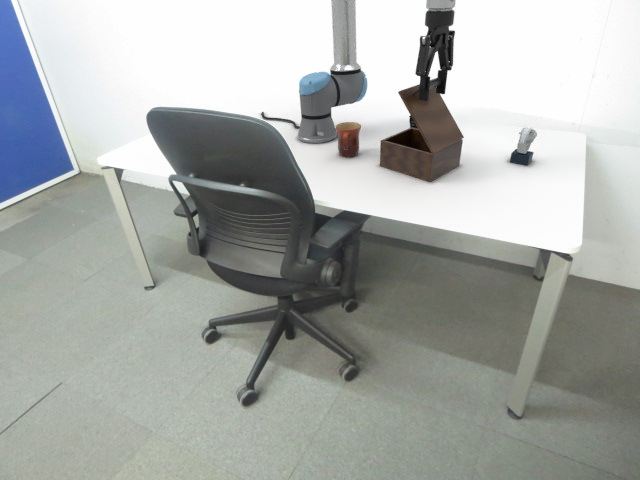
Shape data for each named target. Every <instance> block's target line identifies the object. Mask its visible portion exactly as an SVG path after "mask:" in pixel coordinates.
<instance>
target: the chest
mask: <svg viewBox="0 0 640 480" xmlns="http://www.w3.org/2000/svg"><path fill="white" fill-rule="evenodd" d="M463 139H464V138H462V139H460V140H459V141H457V142H455V143H453V144H451V145H449V146H447V147H445V148H443V149H441V150H439V151H437V152H435V153H433V154H432V153H431V151H430V149H429V147H428V146H427V144H426V142H425V140H424V138H423V137H422V135H421V133H420V131H419V129H416V128H412V127H411V128H410V127H409V128H407V129H404V130H402V131H399V132H396V133H395V134H392V135H390V136H388V137H386V138H383V139H381V140H380V145H379V146H380V149H379V156H380V157H379V167H382V168H385V169H388V170H391V171H395V172H397V173H401V174H404V175H407V176H410V177H413V178H415V179H419V180H422V181H425V182H427V183H432V182H433V181H435V180H437V179H438V178H440V177H442V176H444V175H445V174H447V173H449V172H451V171H453V170H454V169H455V168H458V167H459V166H460V163H461V156H462V149H463V148H462V147H463V141H464V140H463Z"/></svg>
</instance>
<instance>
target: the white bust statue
mask: <svg viewBox="0 0 640 480" xmlns="http://www.w3.org/2000/svg"><path fill="white" fill-rule="evenodd" d="M518 135H519V139H518V143H517V145H516V148H515V149H513V151H512V152H511V154H510V159H509V163H512V164H518V165H522V166H528V167H529V165H530V164H531V163H532V161H533V157H534V151H531V150H530V151H529V149H530V147H531V145H532V143H534V141H535V139H536V138H537V136H538V131H537V130H536V129H535V128H533V127H529V126H528V127H522V129H521V131H519V132H518Z"/></svg>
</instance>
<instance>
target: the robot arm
mask: <svg viewBox="0 0 640 480" xmlns="http://www.w3.org/2000/svg"><path fill="white" fill-rule="evenodd" d="M456 1H457V0H426V2H425V9H427V10H426V11H425V17H424V18H425V19H424V26H425V27H427V28H428V29H427V33H426V35H420V37H419V49H418V55H417V61H416V67H415V73H414V74H415V75H416V76H417V77H419V84H420V92H419V99H420V100H425V101H428V98H429V86H430V80H431V76H430V72H431V68H432V66H433V62H434V59H435V55H436V53H437V57H438V64H439V70H438V69H437V77H436V78H440V79H441V85H440V86H437V87H436V93H439V94H440V95H446V88H447V79H448V71H452V69H453V66H454V46H455V44H454V43H455V35H456V30H451V29H450V27H452V26H453V25H454V23H455V21H454V20H455V13H456V12H455V10H454V8H455V7H456ZM330 4H331V25H332V26H331V27H332V28H331V29H332V50H333V51H332V52H333V65H331V66H330V67H329V68H330V69H329V71H330V72H327V71H318V72H311V73H308V74H305V75H304V76H302V77H301V78H300V80H299V82H298V93H299V105H300V115H301V119H300V123H299V125H297V123H296V122H295V121H294V120H293V119H289V118H282V117H269V116H265V111H261V114H260V115H261V117H262V118H263V119H264V120H269V121H281V122H282V121H283V122H287V123H291V124H293V127H294V128H295V129H298V132H297V138H298V140H299V141H300V142H303V143H307V144H324V143H328V142H331V141H334V140H335V139H336V138H338V133H337V130H336V125H335V122H334V120H333V117H332V108H337V107H341V106H346V105H352V104H355V103H358V102H360V101H362V100H363V99H364V97H365V96H366V94H367V91H368V78H367V75H366V73H365V72H364V71H363V70H362V66H361V65H360V64H359V63H358V62H357V61H358V60H357V59H358V58H357V57H358V56H357V53H358V52H357V7H356V6H357V5H356V4H357V1H356V0H330Z"/></svg>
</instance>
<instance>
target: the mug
mask: <svg viewBox="0 0 640 480" xmlns="http://www.w3.org/2000/svg"><path fill="white" fill-rule="evenodd" d="M335 128H336V131H337V150H338V154H339V156H341V157H343V158H353V157H357V155H358V154H359V151H360V131H361V128H362V125H361V124H360V123H358V122H354V121H345V122H339V123H337V124H336V125H335Z"/></svg>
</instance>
